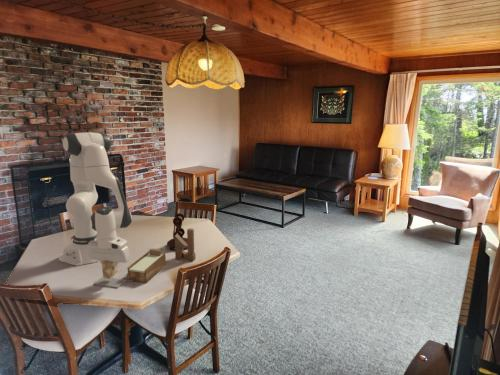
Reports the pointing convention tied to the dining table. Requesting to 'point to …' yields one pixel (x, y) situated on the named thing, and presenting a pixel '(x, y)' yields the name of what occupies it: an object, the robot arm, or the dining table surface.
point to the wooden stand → (185, 246)
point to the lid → (146, 261)
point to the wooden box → (147, 270)
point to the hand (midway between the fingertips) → (110, 268)
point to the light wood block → (108, 269)
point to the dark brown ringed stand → (177, 230)
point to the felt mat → (110, 282)
